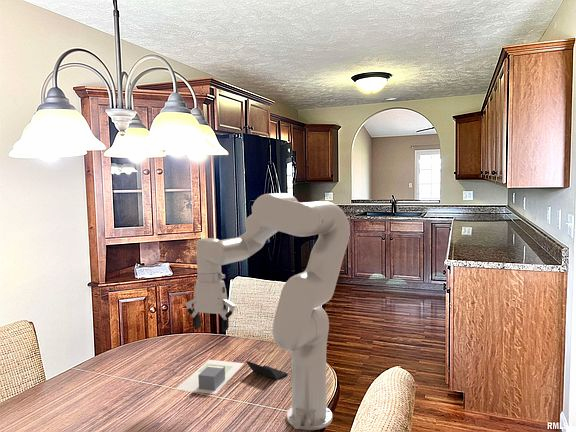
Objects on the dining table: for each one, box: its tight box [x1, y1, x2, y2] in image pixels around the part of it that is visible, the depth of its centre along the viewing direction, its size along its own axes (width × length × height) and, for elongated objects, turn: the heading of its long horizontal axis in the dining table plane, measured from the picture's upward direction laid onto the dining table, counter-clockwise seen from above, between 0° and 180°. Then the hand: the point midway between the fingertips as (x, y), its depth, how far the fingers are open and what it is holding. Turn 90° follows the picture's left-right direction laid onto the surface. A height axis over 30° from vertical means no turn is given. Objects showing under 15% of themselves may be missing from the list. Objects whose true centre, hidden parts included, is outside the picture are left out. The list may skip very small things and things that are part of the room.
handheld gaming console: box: [245, 360, 288, 381], centre depth 146 cm, size 12×7×10 cm
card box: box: [198, 365, 225, 391], centre depth 140 cm, size 8×6×4 cm
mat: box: [175, 359, 245, 395], centre depth 147 cm, size 24×14×1 cm, turn 164°
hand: (211, 329), depth 139 cm, fingers open, 9 cm apart
